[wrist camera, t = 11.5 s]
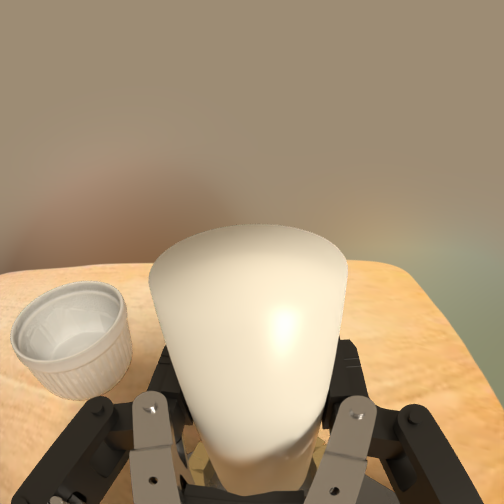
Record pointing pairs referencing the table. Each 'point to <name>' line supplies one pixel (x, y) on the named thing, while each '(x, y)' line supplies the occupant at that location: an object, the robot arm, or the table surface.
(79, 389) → the ramekin
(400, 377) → the table surface
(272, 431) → the white rounded cylinder
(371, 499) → the grey ring holder base
